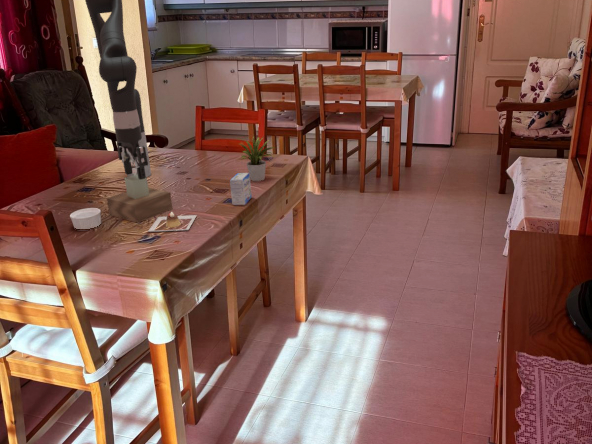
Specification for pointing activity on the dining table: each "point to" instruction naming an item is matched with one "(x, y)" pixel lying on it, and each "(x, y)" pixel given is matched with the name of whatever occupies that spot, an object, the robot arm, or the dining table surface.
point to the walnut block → (139, 205)
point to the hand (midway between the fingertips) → (135, 176)
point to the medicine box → (240, 189)
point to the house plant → (256, 160)
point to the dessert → (172, 222)
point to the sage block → (136, 187)
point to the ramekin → (86, 218)
